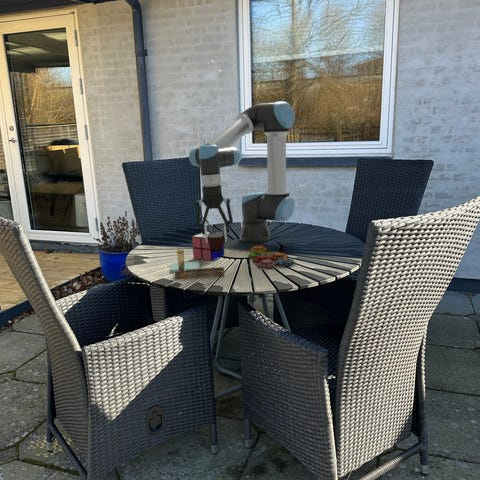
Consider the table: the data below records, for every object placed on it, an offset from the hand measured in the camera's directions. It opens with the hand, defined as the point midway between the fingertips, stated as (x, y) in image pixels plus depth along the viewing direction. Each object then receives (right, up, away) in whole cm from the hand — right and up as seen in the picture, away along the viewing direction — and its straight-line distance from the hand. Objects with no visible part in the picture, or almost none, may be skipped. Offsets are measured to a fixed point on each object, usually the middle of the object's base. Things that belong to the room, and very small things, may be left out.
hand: (216, 241), depth 184 cm
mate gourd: (0, -4, +1) cm, 4 cm away
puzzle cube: (-4, -7, +17) cm, 19 cm away
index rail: (-6, -13, -9) cm, 17 cm away
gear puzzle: (+22, -8, +10) cm, 25 cm away
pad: (-13, -11, +1) cm, 17 cm away
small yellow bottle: (-13, -12, -9) cm, 20 cm away
